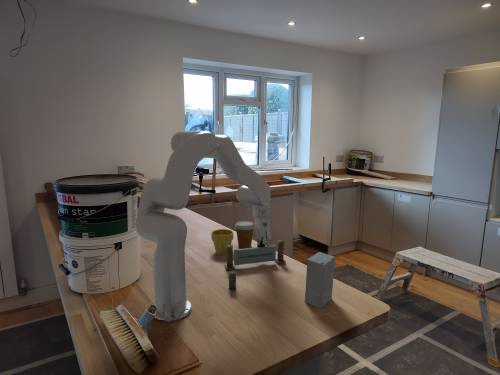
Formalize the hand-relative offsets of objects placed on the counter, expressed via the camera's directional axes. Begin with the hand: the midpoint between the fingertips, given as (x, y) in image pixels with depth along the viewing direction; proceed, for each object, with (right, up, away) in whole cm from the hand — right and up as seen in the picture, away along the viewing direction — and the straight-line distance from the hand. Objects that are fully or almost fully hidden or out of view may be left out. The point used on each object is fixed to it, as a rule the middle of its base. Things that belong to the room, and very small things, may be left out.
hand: (261, 253), depth 142 cm
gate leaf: (-3, -3, -4) cm, 6 cm away
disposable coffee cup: (-8, -1, +20) cm, 21 cm away
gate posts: (-1, -6, -12) cm, 13 cm away
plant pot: (-18, -2, +13) cm, 22 cm away
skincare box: (+18, -10, -32) cm, 39 cm away
